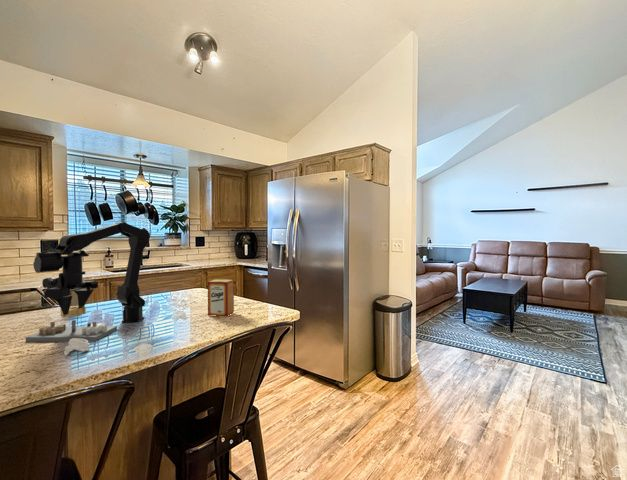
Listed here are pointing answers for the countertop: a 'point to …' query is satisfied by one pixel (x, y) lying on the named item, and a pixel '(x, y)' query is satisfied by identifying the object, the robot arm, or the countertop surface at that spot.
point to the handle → (74, 299)
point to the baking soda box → (220, 297)
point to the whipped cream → (77, 345)
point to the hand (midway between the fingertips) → (73, 311)
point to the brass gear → (75, 311)
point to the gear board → (71, 332)
